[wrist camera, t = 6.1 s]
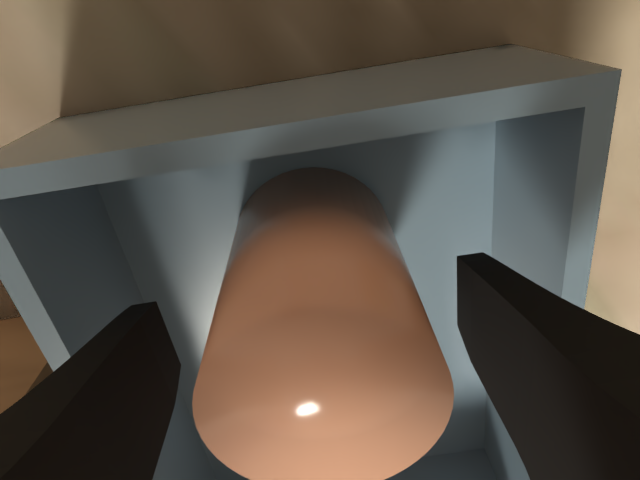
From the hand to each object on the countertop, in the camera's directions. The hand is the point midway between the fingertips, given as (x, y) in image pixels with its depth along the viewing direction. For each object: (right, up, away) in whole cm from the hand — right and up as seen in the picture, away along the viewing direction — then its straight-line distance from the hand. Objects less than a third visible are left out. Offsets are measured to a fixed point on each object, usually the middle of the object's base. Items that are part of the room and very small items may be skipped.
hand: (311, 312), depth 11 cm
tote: (0, -1, +6) cm, 6 cm away
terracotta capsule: (0, +2, +4) cm, 4 cm away
